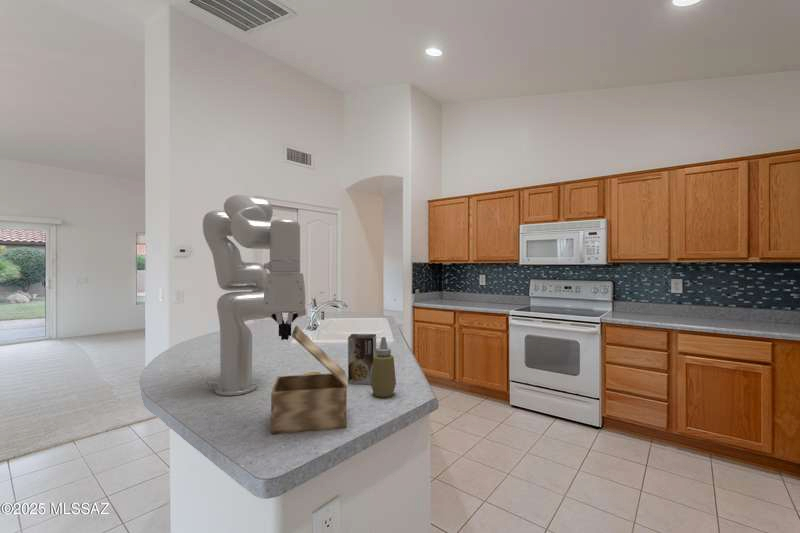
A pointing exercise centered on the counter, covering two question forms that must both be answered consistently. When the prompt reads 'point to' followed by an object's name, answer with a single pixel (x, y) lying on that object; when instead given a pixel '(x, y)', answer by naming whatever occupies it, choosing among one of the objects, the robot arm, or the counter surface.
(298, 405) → the carton
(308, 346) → the carton flap
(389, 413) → the counter surface
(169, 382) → the counter surface
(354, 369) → the grey upright box
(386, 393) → the squeeze bottle
